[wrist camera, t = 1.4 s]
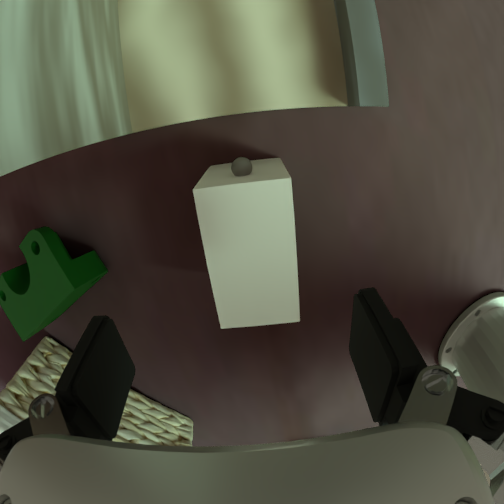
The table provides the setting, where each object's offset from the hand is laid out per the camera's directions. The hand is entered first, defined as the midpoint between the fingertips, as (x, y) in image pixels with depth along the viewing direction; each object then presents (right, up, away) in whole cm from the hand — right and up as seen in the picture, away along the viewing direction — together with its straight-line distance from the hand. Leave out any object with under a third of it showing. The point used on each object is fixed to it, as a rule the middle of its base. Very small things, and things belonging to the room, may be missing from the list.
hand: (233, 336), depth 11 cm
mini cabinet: (+1, +6, +12) cm, 14 cm away
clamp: (-18, +2, +14) cm, 23 cm away
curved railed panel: (-2, +23, +4) cm, 23 cm away
